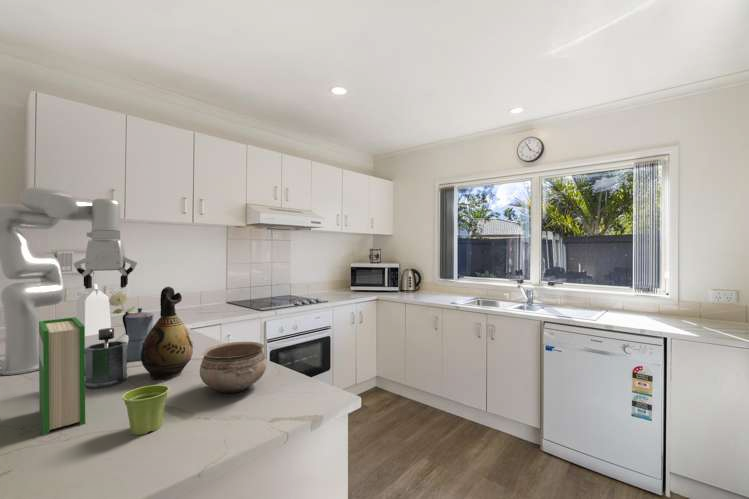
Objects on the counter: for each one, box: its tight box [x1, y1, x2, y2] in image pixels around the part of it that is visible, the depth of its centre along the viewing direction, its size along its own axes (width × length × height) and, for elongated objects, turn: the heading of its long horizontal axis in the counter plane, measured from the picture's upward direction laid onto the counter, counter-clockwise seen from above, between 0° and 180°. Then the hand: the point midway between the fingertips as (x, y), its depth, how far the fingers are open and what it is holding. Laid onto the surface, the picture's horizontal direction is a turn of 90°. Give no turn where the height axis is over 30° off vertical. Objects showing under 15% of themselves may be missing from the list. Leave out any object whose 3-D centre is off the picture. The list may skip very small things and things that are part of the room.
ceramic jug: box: [140, 286, 194, 381], centre depth 121 cm, size 17×15×30 cm
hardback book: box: [38, 316, 86, 436], centre depth 89 cm, size 18×7×24 cm, turn 46°
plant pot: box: [121, 384, 170, 435], centre depth 83 cm, size 9×9×9 cm
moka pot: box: [121, 307, 155, 362], centre depth 140 cm, size 10×15×20 cm, turn 78°
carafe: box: [85, 340, 128, 390], centre depth 113 cm, size 14×11×12 cm
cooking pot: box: [199, 341, 268, 394], centre depth 107 cm, size 25×19×12 cm
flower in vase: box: [109, 290, 135, 344], centre depth 160 cm, size 13×11×25 cm
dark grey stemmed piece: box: [98, 327, 115, 348], centre depth 114 cm, size 7×7×14 cm
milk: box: [76, 283, 112, 337], centre depth 186 cm, size 12×12×26 cm
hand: (106, 287), depth 116 cm, fingers open, 9 cm apart
